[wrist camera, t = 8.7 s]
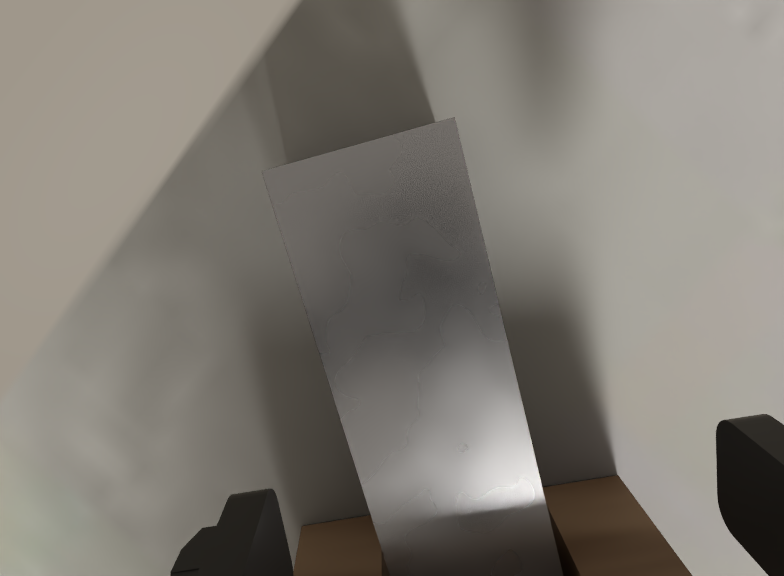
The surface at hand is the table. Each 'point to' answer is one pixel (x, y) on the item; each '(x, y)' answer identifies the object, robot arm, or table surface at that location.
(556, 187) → the table surface
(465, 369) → the steel bar
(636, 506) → the wooden arch block
